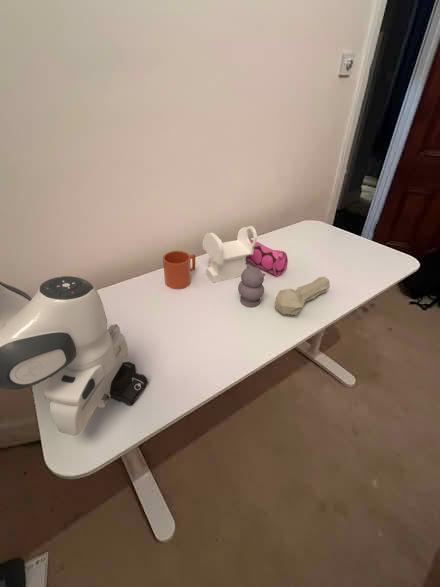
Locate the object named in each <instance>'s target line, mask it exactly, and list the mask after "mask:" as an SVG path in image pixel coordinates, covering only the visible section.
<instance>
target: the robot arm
mask: <svg viewBox="0 0 440 587" xmlns="http://www.w3.org/2000/svg"><path fill="white" fill-rule="evenodd" d="M108 325H109V324H108V318H107V314H106V310H105V306H104V304H103V301H102V299H101V295H100V294H99V292H98V290H97V288H96V287H95V286H94V285H93V284H92V283H91V282H89V281H88V280H87V279H83V278H82V277H77V276H71V275H63V276H56V277H53V278H50V279H47V280H45V281H43V282H42V283H41V284H40V285H39V287H38V289H37V291H36V293H35V295H33V297H31V296H30V295H29V294H28V293H26V292H25V291H23V290H22V289H19V288H17V287H14V286H12V285H9V284H6V283H4V282H2V281H0V389H2V390H11V391H12V390H23V389H27V388H31V387H33V386H36V385H38V384H40V383H42V382H45V381H46V380H48V381H47V383H46V385H45V387H44V388H43V391H42V392H43V397H44V398H45V399H47V400H50V403H49V412H50V415H51V418H52V420H53V423H54V425H55V427H56V429H57V431H58V432H60V433H63V434H66V435H68V436H69V435H70V436H78V435H81V434H82V433H83V431H84V429H85V427H86V426H87V424H88V422H89V421H90V419H91V417H92V415H93V414H94V412H95V410H96V409H97V408H99V409H104V408H105V407H106V406H107V403H108V401H109V400H110V399H111V398H110V393H109V392H110V387H111V382H112V380H113V379H114V377H115V375H116V373H117V372H118V370H119V368H120V367H121V365H122V363H123V362H125V360H126V358H127V357H128V355H129V346H128V342H127V339H126V338H125V336H124V334H123V333H121V328H120V326H119V324H117V323H114V324H111V325H110V326H109V327H108Z"/></svg>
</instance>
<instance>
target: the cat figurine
mask: <svg viewBox="0 0 440 587" xmlns="http://www.w3.org/2000/svg"><path fill="white" fill-rule="evenodd" d="M246 265H247V267H246V269H245V270H244V271H243V272H242V274H241V276H240V280H241V281H240V282H239V283H238V285H237V291H238V294H239V296H240V297H239V303H240V304H241V305H242V306H244V307H246V308H257V307H258V306H259V305H260V304H261V298H263V296H264V294H265V286H264V285H263V284H264V282H265V275H266V273H264V272H262V270H261V269H259V268H257V267H255V266H251V264H250V263H247V264H246Z"/></svg>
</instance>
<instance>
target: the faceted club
mask: <svg viewBox="0 0 440 587" xmlns="http://www.w3.org/2000/svg"><path fill="white" fill-rule="evenodd" d="M330 288H331V284H330V279H329V278H327V277H326V276H321V277H320V276H319V277H317V278H316V279H315V280H314V281H312V282H309V283H308V284H304V285H301V286H298V287H297V288H296V289H293V288H285V289H281V290H279V291H278V293H277V295H276V297H275V300H274V305H275V310H276V311H278V312H279V313H280V314H282V315H285V316H297V315H298V314H299V312H300V311H301V309H302V308H304V305H305V303H306V302H307V301H310V300H314V299H315V298H317V297H318V296H320V294H323V293H326V292H327V291H328V290H329V289H330Z"/></svg>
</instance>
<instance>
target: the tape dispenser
mask: <svg viewBox="0 0 440 587" xmlns="http://www.w3.org/2000/svg"><path fill="white" fill-rule="evenodd" d="M249 231H251V233H252V236H253V240H254V241H253V243H252V244H251V243H250V241H249V238H250V237H249V238H248V236H249ZM257 242H258V233H257V231H256V228H255V227H254V226H253V225H249V226H243V227H241V228H240V229H239V230H238V233H237V238H236V240H230V241H225V242H223V241H222V240H221V238H220V237H219V236H217V234H216V233H215V232H208V233H205V234H204V236H203V240H202V249H203V250H204V251H205V253H207V255H208V256H209V257H210V264H209V266H206V267H205V275H206V276H207V277H208V279H209V280H210V281H211V282H212V284H214V283H218V282H223V281H227V280H230V279H236V278H239V277H240V278H241V274H242V272H243V271H244V270H245V269H246V267H247V264H246V263H247V260H246V255H251V254H253V252H254V246H255V245H256V243H257Z"/></svg>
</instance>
